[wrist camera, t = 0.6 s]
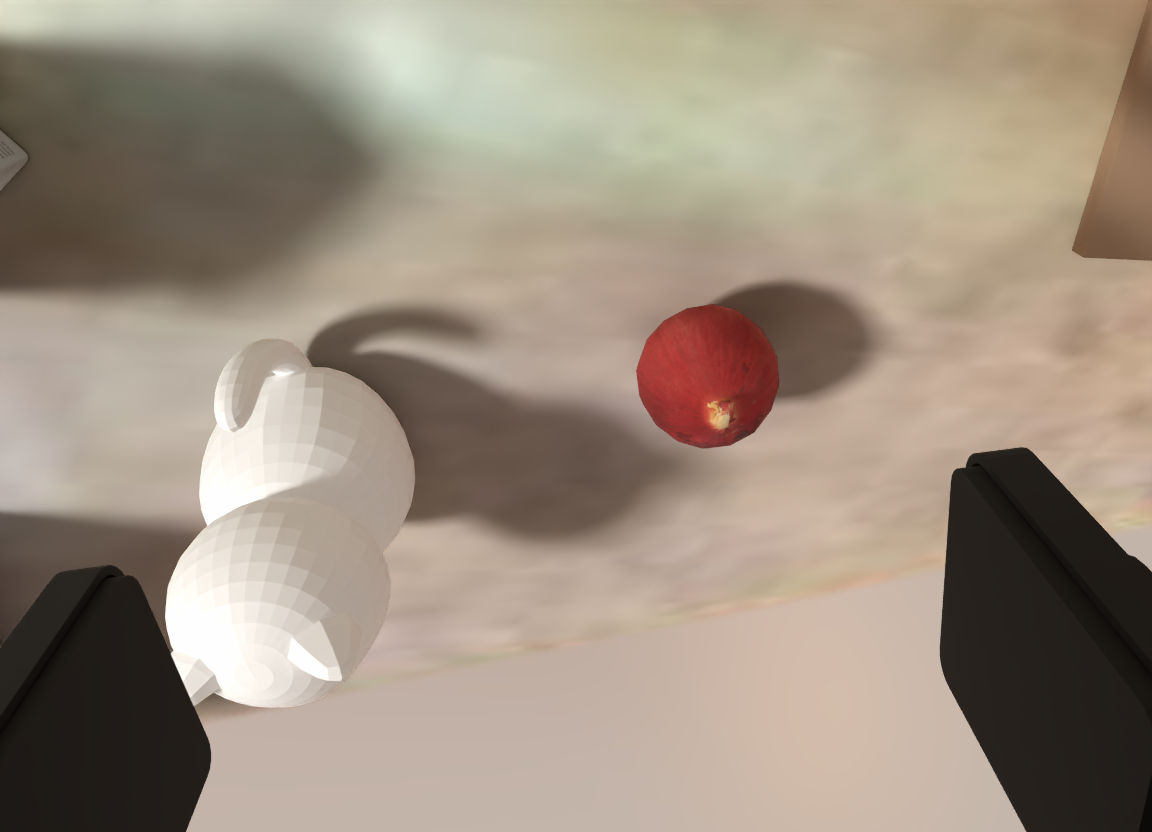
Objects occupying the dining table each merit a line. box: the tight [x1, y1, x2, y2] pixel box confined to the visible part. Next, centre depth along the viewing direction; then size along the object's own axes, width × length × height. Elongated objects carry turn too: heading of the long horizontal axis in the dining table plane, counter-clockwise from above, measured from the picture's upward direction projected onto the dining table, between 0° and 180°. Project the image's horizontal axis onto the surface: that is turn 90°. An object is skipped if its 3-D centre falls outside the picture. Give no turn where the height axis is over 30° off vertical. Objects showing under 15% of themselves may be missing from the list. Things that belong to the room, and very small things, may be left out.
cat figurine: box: [165, 339, 415, 707], centre depth 37 cm, size 9×12×15 cm
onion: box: [636, 304, 779, 448], centre depth 38 cm, size 6×6×8 cm
